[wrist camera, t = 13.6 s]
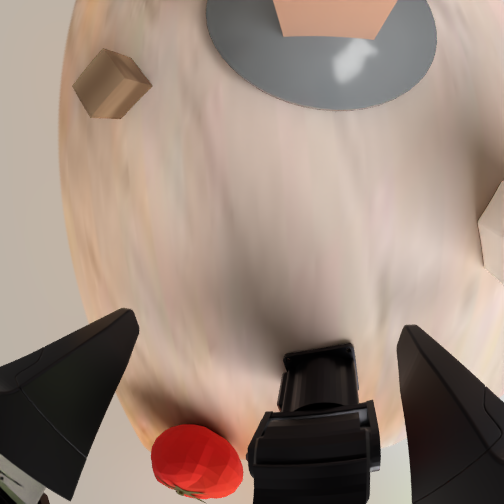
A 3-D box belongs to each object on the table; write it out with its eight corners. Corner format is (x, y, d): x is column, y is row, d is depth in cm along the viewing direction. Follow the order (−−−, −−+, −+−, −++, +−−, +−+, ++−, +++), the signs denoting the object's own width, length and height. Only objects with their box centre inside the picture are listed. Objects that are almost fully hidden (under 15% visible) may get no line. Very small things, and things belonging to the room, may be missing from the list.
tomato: (151, 406, 33) (118, 462, 23) (231, 411, 30) (205, 483, 20) (191, 453, 37) (170, 502, 27) (261, 459, 33) (247, 516, 24)
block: (153, 86, 18) (124, 78, 15) (121, 119, 20) (90, 117, 16) (131, 58, 18) (103, 48, 14) (102, 90, 19) (72, 86, 15)
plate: (373, -61, 9) (375, -68, 8) (460, 96, 14) (468, 94, 13) (189, -25, 14) (184, -31, 13) (250, 139, 19) (246, 138, 18)
